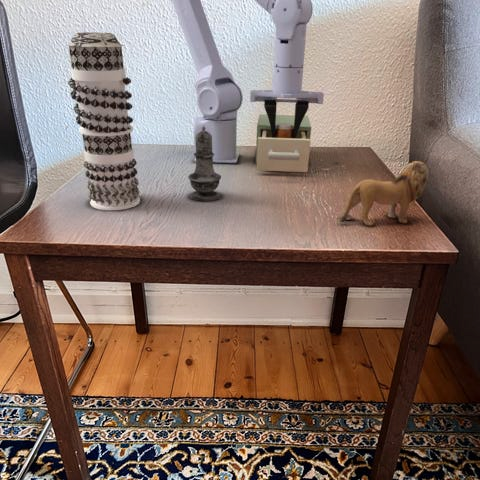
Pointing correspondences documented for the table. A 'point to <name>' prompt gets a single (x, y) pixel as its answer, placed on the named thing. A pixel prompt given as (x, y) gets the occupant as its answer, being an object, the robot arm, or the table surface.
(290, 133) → the spice bottle
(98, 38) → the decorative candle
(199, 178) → the stone fountain
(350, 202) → the lion figurine
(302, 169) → the drawer
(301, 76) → the robot arm
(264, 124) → the cabinet
